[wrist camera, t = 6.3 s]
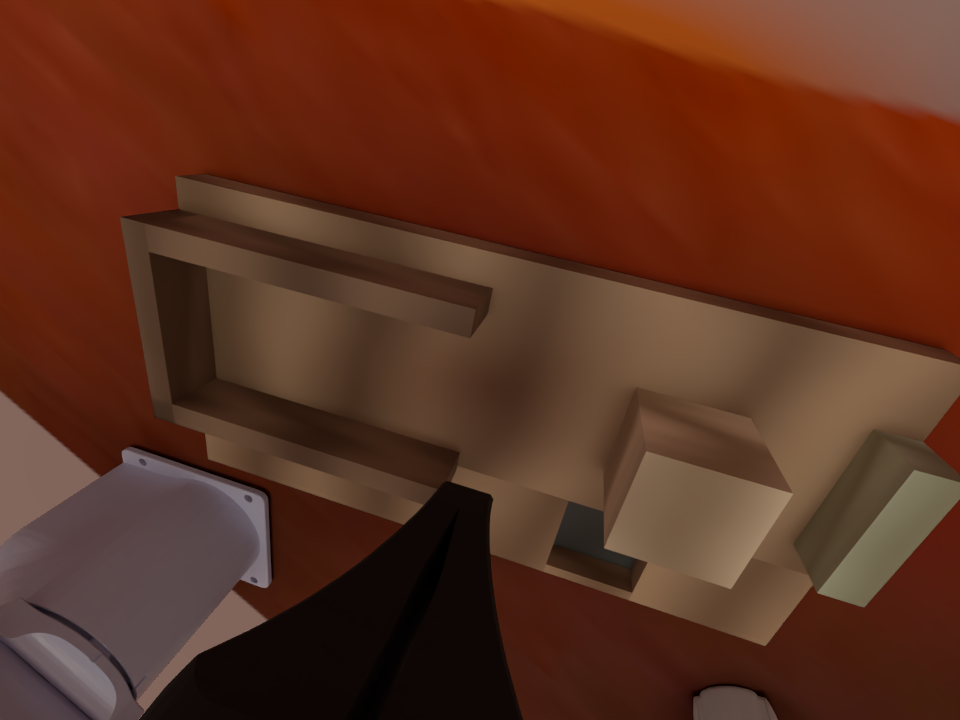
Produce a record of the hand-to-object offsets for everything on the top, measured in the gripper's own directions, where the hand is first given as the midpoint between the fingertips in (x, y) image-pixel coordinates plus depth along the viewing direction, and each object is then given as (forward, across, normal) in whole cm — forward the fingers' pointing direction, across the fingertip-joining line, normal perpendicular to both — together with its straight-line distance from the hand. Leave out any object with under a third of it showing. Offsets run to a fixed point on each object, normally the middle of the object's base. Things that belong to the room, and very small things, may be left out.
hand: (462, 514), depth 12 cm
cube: (+6, -6, 0) cm, 9 cm away
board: (+8, -1, +1) cm, 8 cm away
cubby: (+7, +8, 0) cm, 10 cm away
